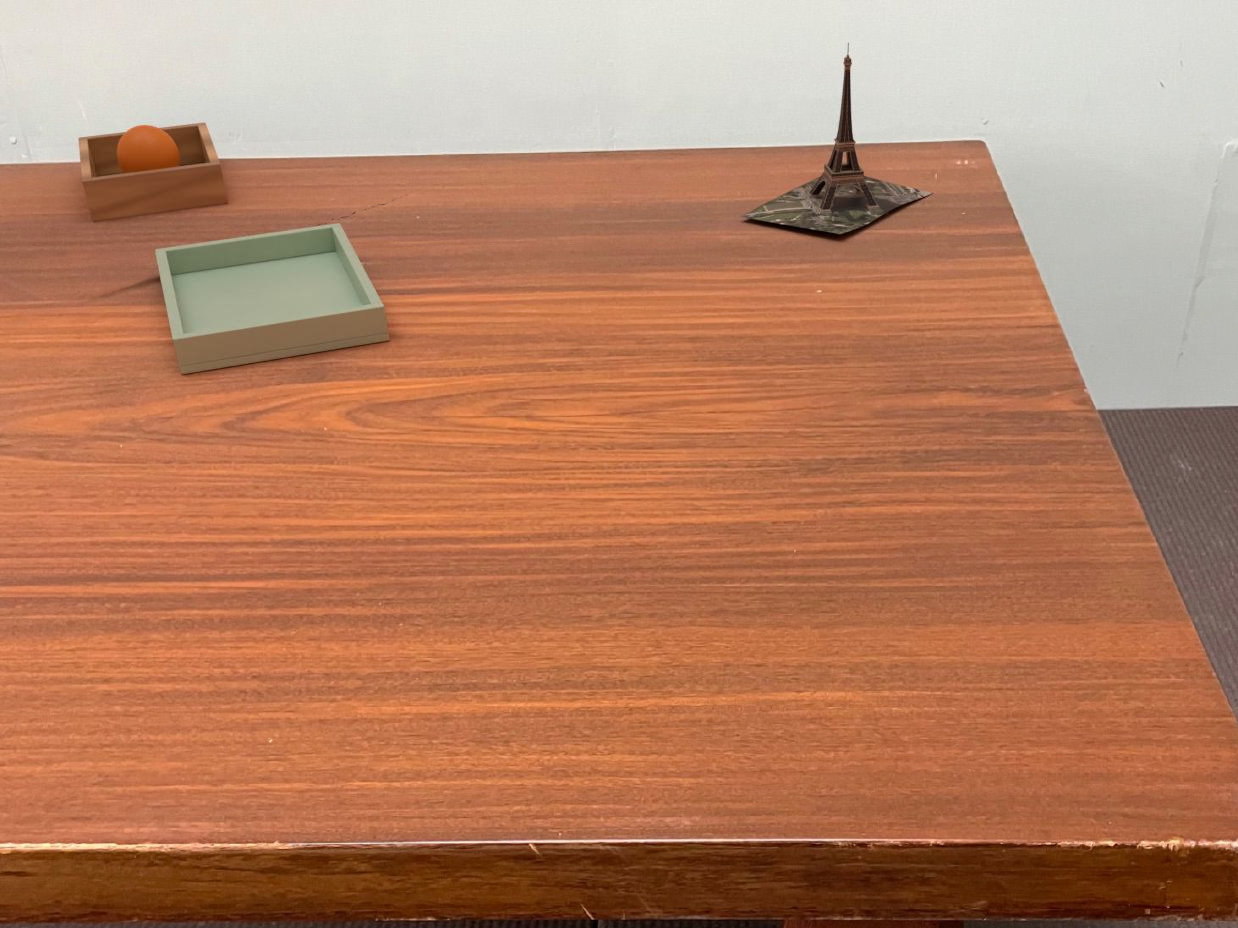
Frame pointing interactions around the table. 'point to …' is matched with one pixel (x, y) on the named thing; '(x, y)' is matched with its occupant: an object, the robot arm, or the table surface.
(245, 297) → the tray
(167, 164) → the orange
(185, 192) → the wooden box
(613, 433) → the table surface
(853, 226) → the eiffel tower figurine
